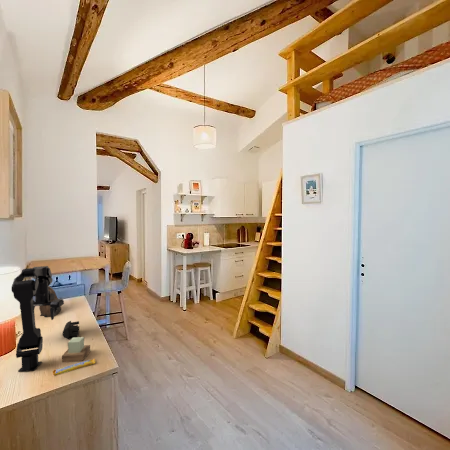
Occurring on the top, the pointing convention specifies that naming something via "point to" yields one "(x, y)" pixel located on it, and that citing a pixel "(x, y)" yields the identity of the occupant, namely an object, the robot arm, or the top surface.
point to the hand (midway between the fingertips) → (43, 320)
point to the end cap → (71, 330)
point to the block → (76, 345)
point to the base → (76, 355)
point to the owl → (46, 309)
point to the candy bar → (73, 367)
